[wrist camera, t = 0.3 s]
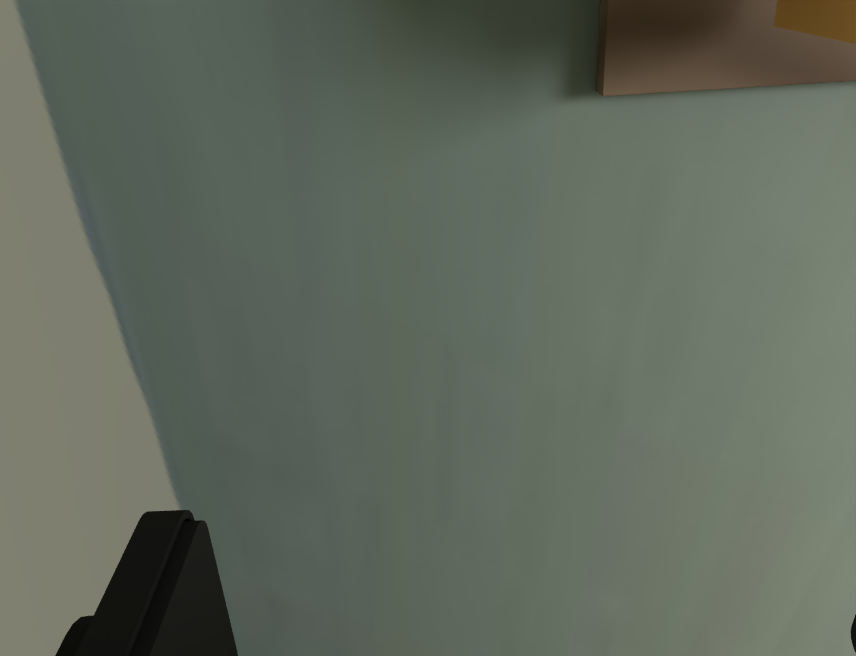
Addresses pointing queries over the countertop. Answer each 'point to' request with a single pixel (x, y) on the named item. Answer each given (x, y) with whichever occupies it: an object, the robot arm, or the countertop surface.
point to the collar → (819, 18)
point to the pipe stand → (709, 48)
